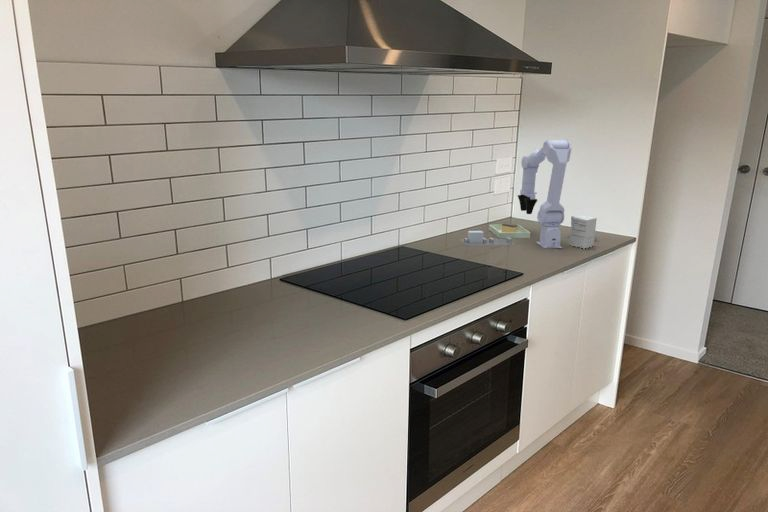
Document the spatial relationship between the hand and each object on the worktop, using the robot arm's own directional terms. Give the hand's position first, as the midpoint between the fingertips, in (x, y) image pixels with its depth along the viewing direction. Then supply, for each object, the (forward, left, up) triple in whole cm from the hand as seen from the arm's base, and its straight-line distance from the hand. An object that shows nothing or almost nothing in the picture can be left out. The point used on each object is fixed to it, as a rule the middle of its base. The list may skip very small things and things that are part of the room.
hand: (526, 212), depth 282 cm
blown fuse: (-5, +9, -9) cm, 14 cm away
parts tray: (-5, +9, -9) cm, 14 cm away
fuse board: (-19, +23, -9) cm, 31 cm away
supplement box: (-26, -16, -10) cm, 32 cm away
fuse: (-19, +29, -9) cm, 35 cm away
